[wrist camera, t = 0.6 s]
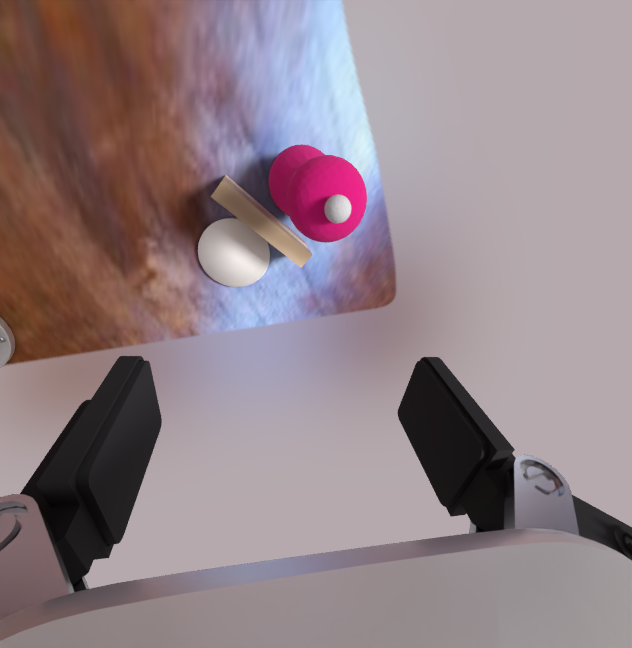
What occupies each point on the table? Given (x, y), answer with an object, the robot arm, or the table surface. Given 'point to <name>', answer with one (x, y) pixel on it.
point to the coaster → (233, 253)
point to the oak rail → (261, 221)
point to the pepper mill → (318, 192)
